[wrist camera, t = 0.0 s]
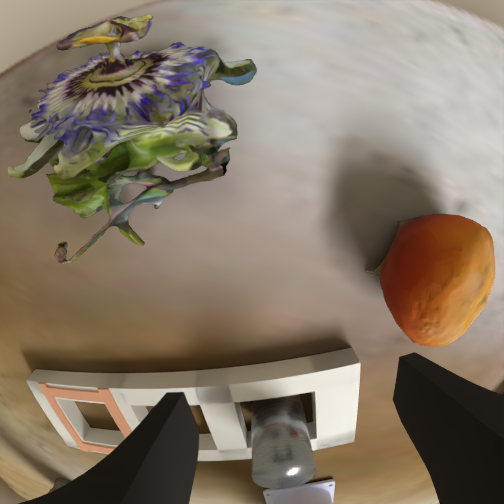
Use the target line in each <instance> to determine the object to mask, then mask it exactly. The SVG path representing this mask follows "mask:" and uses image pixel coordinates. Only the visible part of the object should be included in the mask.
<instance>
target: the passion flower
mask: <svg viewBox="0 0 504 504" xmlns="http://www.w3.org/2000/svg"><path fill="white" fill-rule="evenodd" d="M152 18H153V17H152V15H150V14H149V15H145V16H142V17H137V18H133V19H130V18H127V17H122V16H120V17H116V18H114V19H110V18H108V19H107V20H106V21H103V22H101V23H99V24H97V25H94V26H92V27H88V28H85V29H81V30H79V31H77V32H75V33H73V34H71V35H69V36H68V37H67V38H66V39H64V40H62V41H60V42H59V43H58V44H57V49H58V50H69V49H72V48H78V47H80V48H81V47H84V46H88V45H92V44H100V43H104V44H106V45H107V48H108V50H109V52H110V53H100V54H99V55H98V56H95V57H91V58H90V59H89V61H88V62H87V64H86V65H84V66H82V65H81V66H80V67H82V68H76V69H74V70H72V71H65V72H64V73H63V74H59V75H58V78H57V79H56V80H55V81H54V82H53V83H47V86H49V88H47V89H44V90H39V92H45V93H46V94H47V95H46V96H44V97H43V98H42V99H41V100H39V101H38V102H37V104H36V105H37V107H39V109H40V110H41V111H39V112H37V113H33V114H31V115H32V117H33V118H32V121H31V122H29V123H27V124H25V125H23V126H22V127H20V129H19V130H20V132H19V133H20V135H21V136H22V137H23V138H24V140H25V141H28V142H36V143H39V145H38V146H37V147H36V148H35V150H34V151H33V153H32V154H31V155H29V156H28V159H27V162H26V163H25V164H23V165H20V166H17V167H15V168H14V169H13V168H11V167H9V168H8V173H9V175H10V176H11V177H16V178H25V177H28V176H30V175H32V174H34V173H36V172H38V171H39V170H40V169H41V168H42V167H43V166H44V165H45V164H47V163H49V162H51V166H53V167H54V170H55V173H56V174H46V175H47V177H48V178H49V180H50V183H51V185H52V186H53V189H54V191H55V195H54V196H53V201H55V202H57V203H59V204H62V205H64V206H67V207H69V208H72V209H73V210H74V212H75V213H78V214H79V215H80V216H81V217H82V218H87V217H89V216H92V215H93V214H95V213H96V212H98V211H100V210H101V209H104V208H105V209H106V210H107V213H108V214H109V217H110V220H109V222H108V223H107V224H106V225H105V226H104V227H102V229H101V230H100V231H99V232H98V233H96V234H94V236H93V237H92V239H91V240H90V241H89V242H88V243H87V244H86V245H85V246H83V247H82V248H81V249H80V250H79V251H78V252H77V253H76V254H75V255H74V256H73V257H72V258H71V259H70V260H65V259H66V255H67V250H66V248H67V242H62V243H60V244H58V245H57V249H56V252H55V255H54V256H55V257H56V258H57V260H58V262H59V263H61V264H65V263H69V262H73V261H75V260H76V259H77V258H78V257H79V256H80V255H81V254H82V253H84V252H85V251H86V250H87V249H88V248H89V247H90V246H91V245H93V244H94V242H95V241H96V240H97V239H98V238H99V237H100V236H102V235H103V234H104V232H105V231H106V230H107V229H108V228H109V227H111V226H117V227H118V228H119V230H120V232H121V233H122V234H123V235H125V236H126V237H127V238H128V239H129V240H130V241H131V242H133V243H135V244H139V245H144V243H145V242H144V241H142V239H141V238H140V237H139V236H138V235H137V234H136V233H135V232H134V231H133V230H132V228H131V227H130V225H129V223H128V214H129V212H130V210H131V209H132V208H134V207H135V206H136V205H139V204H143V203H144V204H154V205H155V209H158V208H159V206H160V205H161V203H162V201H163V199H164V198H165V197H166V196H168V195H170V194H171V193H172V192H173V190H174V189H177V188H181V187H184V186H186V185H189V184H193V183H197V182H201V181H210V180H213V179H215V178H217V177H221V176H224V175H225V173H226V171H227V170H226V165H227V164H228V162H229V161H230V155H229V149H230V148H227V149H225V150H221V151H219V152H218V150H219V148H220V147H221V146H222V145H223V144H224V143H226V142H228V141H230V140H235V139H236V138H237V124H236V122H235V120H234V119H233V118H232V117H231V116H229V115H227V114H226V113H225V112H224V111H223V110H219V109H216V108H214V107H213V106H212V105H211V104H209V103H208V101H207V99H206V98H205V96H204V92H203V91H204V89H205V88H208V87H210V86H211V84H210V81H212V80H223V81H225V82H226V83H229V84H231V85H243V84H246V83H248V82H250V81H251V80H252V79H253V77H254V75H255V74H256V72H257V68H256V66H255V64H254V63H253V61H252V59H249V60H248V59H246V60H243V61H236V62H224V61H223V60H222V59H220V57H219V56H218V54H217V53H216V52H215V51H214V50H212V49H207V48H205V47H186V46H185V45H184V44H182V43H181V42H179V43H173V44H172V45H170V46H169V47H168V48H166V49H164V50H160V51H158V52H156V51H151V52H150V53H149V52H144V53H140V52H139V51H136V52H135V53H134V54H133V55H130V56H127V57H124V56H123V55H122V54H121V50H120V48H119V47H120V43H128V42H132V41H137V40H139V39H141V38H143V37H144V36H146V34H147V32H148V31H149V28H150V26H151V23H152V22H151V19H152ZM30 112H31V110H30V111H29V113H30ZM40 117H41V118H40ZM38 118H39V119H38ZM118 143H119V144H118ZM117 144H118V145H117ZM115 145H117V146H115ZM114 146H115V147H114ZM113 147H114V148H113ZM112 148H113V149H112ZM110 149H112V150H111V152H110V153H109V155H108V156H107V157H105V156H104V154H106V153H107V152H108V151H109V150H110ZM185 152H187V154H186V156H185V158H184V159H183V160H179V161H178V160H176V159H174V157H175V156H177V155H179V154H181V153H185ZM159 163H163V164H164V165H166V166H168V167H170V168H171V169H173V170H176V171H188V170H194V169H197V168H199V167H200V166H201V165H203V166H205V167H207V170H205V171H203V172H201V173H197V174H194V175H189V176H188V177H185V178H181V179H179V180H175V181H172V182H170V181H169V180H168V179H166V178H165V177H161V176H155V175H152V174H151V173H149V172H148V170H147V169H148V168H150V167H152V166H154V165H156V164H159ZM132 170H139V171H138V174H136V175H135V176H124V175H123V174H125V173H126V172H129V171H132ZM128 183H138V184H143V185H146V186H147V189H146V190H145V191H143V192H142V193H141V194H140V195H138V196H137V197H136V198H134V199H133V200H132V201H130V202H129V203H126V204H123V203H122V202H121V201H120V199H119V195H120V193H121V190H122V187H123V186H124V185H126V184H128Z"/></svg>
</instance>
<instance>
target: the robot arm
mask: <svg viewBox="0 0 504 504" xmlns="http://www.w3.org/2000/svg"><path fill="white" fill-rule="evenodd" d="M393 401H394V404H395V407H396V409H397V412H398V415H399V417H400V419H401V422H402V424H403V426H404V428H405V429H406V431H407V433H408V435H409V437H410V438H411V440H412V442H413V444H414V445H415V447H416V449H417V451H418V453H419V454H420V456H421V458H422V460H423V462H424V463H425V465H426V467H427V470H428V472H429V474H430V476H431V479H432V482H433V484H434V487H435V490H436V493H437V496H438V499H439V503H440V504H504V395H502V394H498V393H496V392H493V391H490V390H488V389H486V388H483V387H481V386H479V385H476V384H474V383H472V382H470V381H468V380H466V379H464V378H462V377H460V376H458V375H456V374H454V373H452V372H450V371H448V370H447V369H445V368H443V367H441V366H439V365H437V364H436V363H434V362H432V361H430V360H428V359H427V358H425V357H423V356H421V355H419V354H417V353H415V352H414V353H411V354H408V355H404V356H401V357H399V364H398V371H397V378H396V384H395V390H394V396H393ZM199 433H200V431H199V429H198V426H197V424H196V421H195V419H194V417H193V414H192V412H191V409H190V407H189V404H188V401H187V399H186V396H185V394H184V392H167V393H166V394H165V395H164V396H163V397H162V398H161V399H160V401H159V402H158V403H157V404H156V405H155V406H154V408H153V409H152V410H151V411H150V412H149V413H148V415H147V416H146V417H145V418H144V419H143V420H142V421H141V422H140V424H139V425H138V426H137V427H136V428H135V429H134V430H133V431H132V432H131V433H130V434H129V435H128V436H127V437H126V438H125V439H124V440H123V441H122V442H121V443H120V444H119V445H118V446H117V447H116V448H115V449H114V450H113V451H112V452H111V453H110V454H109V455H107V456H106V457H105V458H104V459H103V460H101V461H100V462H99V463H98V464H96V465H95V466H94V467H92V468H91V469H90V470H88V471H87V472H85V473H84V474H82V475H81V476H79V477H77V478H76V479H74V480H73V481H71V482H69V483H68V484H66V485H64V486H62V487H60V488H58V489H56V490H54V491H52V492H50V493H48V494H45V495H43V496H41V497H38V498H35V499H32V500H29V501H26V502H22V503H19V504H189V500H190V495H191V490H192V485H193V480H194V475H195V470H196V465H197V460H198V452H199ZM334 488H335V480H334V479H329V480H325V481H320V482H314V483H309V484H303V485H299V486H296V487H293V488H287V489H265V490H264V491H263V494H264V497H265V500H266V503H267V504H333V497H334Z"/></svg>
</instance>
